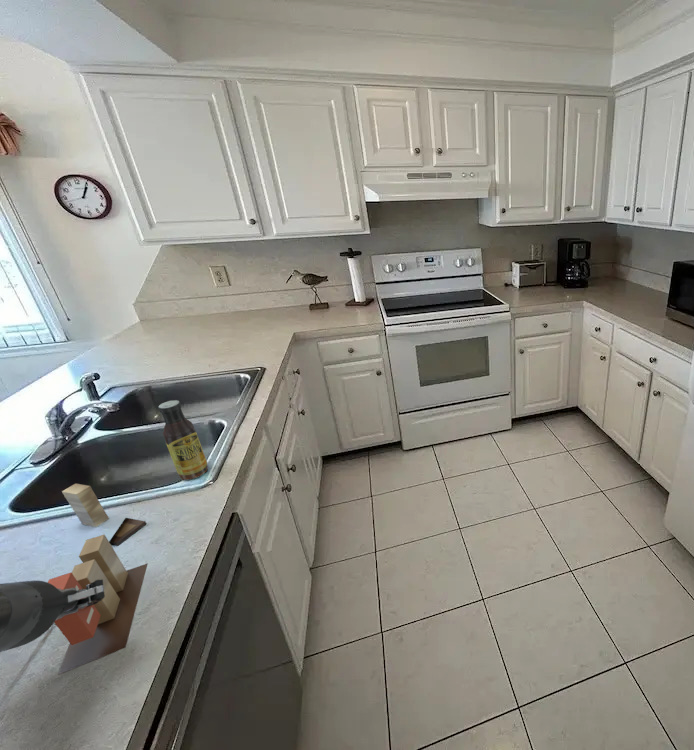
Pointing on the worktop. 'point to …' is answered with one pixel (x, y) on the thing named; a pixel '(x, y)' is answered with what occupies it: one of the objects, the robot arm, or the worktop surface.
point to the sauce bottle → (182, 442)
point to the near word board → (109, 629)
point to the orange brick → (76, 614)
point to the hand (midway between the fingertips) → (79, 602)
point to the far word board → (97, 512)
